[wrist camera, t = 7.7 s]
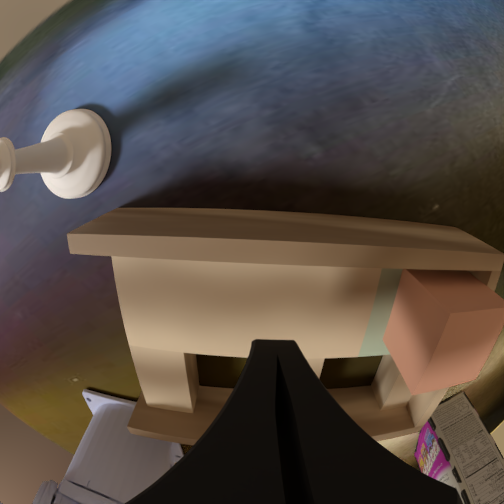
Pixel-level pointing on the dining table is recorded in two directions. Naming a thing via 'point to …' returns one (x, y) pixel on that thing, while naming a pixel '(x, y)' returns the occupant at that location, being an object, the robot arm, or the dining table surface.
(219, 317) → the tray
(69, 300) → the dining table surface
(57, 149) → the chess piece
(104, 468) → the robot arm
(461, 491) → the candy bar box
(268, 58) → the dining table surface
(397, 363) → the terracotta block
